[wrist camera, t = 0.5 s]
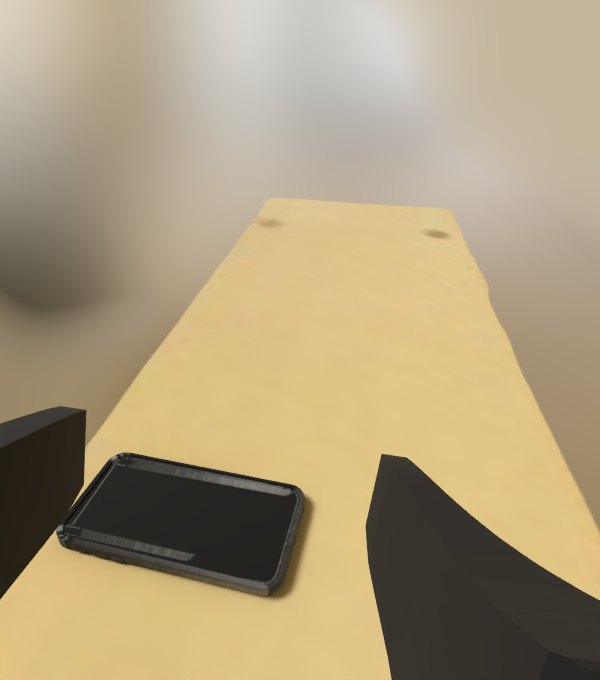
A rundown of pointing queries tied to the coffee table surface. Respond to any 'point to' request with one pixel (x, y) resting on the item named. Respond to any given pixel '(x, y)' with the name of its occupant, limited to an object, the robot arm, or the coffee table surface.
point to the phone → (187, 522)
